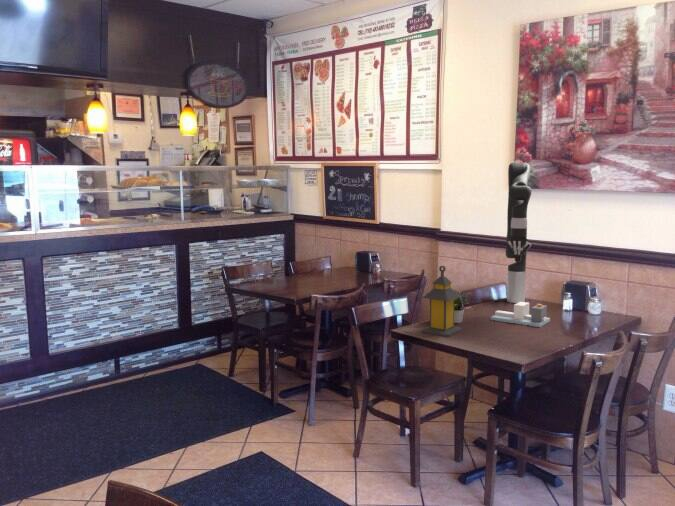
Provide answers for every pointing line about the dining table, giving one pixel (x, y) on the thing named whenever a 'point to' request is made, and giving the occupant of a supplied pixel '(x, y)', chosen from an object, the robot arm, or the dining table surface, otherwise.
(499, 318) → the rail board
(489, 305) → the dining table surface
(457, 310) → the house plant
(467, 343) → the dining table surface
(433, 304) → the lantern
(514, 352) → the dining table surface
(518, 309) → the din module
